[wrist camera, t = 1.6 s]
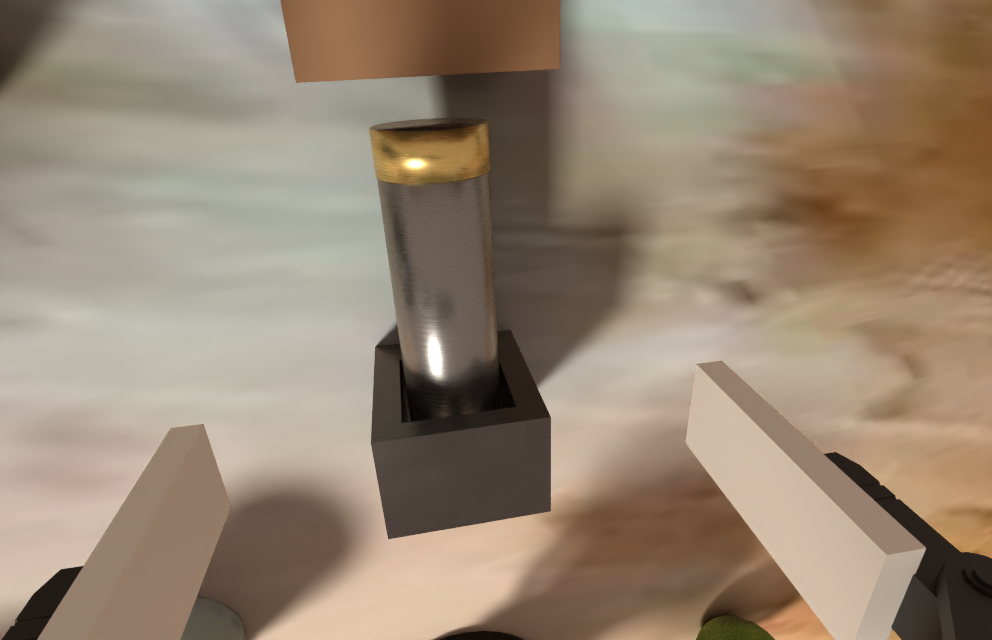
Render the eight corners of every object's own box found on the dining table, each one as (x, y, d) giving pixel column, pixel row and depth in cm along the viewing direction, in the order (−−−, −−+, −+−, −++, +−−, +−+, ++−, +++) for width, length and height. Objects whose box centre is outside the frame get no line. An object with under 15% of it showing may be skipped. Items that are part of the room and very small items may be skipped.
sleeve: (388, 426, 35) (388, 539, 27) (375, 346, 33) (371, 443, 24) (513, 409, 37) (550, 511, 28) (510, 330, 34) (550, 417, 26)
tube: (496, 447, 35) (513, 504, 30) (416, 459, 34) (421, 520, 29) (478, 115, 26) (498, 126, 21) (370, 122, 25) (367, 135, 21)
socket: (325, 76, 26) (296, 82, 18) (305, -47, 24) (260, -106, 16) (506, 67, 28) (559, 69, 19) (503, -51, 25) (560, -108, 17)
